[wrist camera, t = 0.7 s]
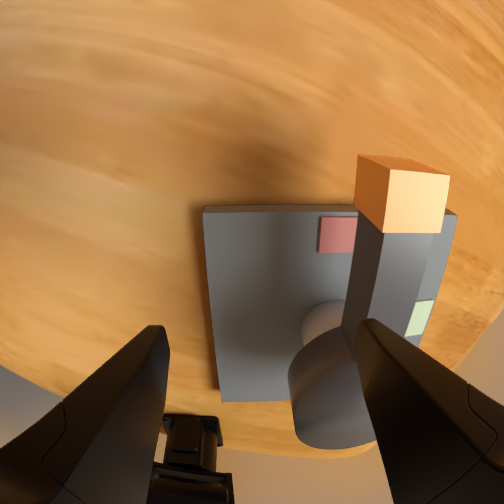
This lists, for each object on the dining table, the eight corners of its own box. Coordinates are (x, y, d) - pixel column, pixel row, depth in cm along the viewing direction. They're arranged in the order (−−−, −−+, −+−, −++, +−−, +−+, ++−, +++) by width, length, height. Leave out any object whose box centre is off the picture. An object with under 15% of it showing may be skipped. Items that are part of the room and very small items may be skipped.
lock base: (396, 374, 28) (415, 415, 23) (222, 389, 27) (220, 438, 22) (447, 208, 20) (492, 238, 15) (205, 206, 20) (191, 242, 14)
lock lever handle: (384, 394, 20) (401, 436, 17) (283, 406, 20) (289, 455, 16) (449, 164, 13) (503, 187, 9) (301, 151, 13) (326, 169, 9)
